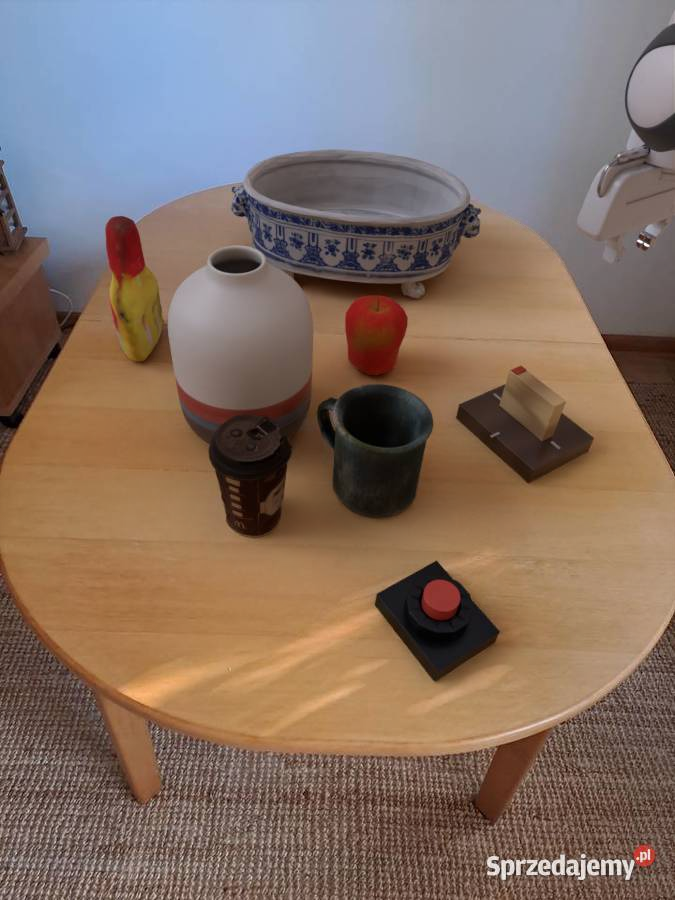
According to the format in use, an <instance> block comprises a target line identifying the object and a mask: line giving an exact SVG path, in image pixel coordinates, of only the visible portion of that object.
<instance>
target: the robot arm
mask: <svg viewBox="0 0 675 900" xmlns="http://www.w3.org/2000/svg"><path fill="white" fill-rule="evenodd" d="M670 17H671V18H670V19H669V22H668V25H667V26H666V27H664V28H663V29H662V30H661V31H660V32H659V33H658V34H657V35H656V36H655V37H654V38H653V40H651V41H650V43H648V45H647V46H646V47H645V48H644V50H643V51H642V53H641V54H640V55H639V57H638V58H637V60H636V62H635V64H634V65H633V66H632V69H631V71H630V73H629V76H628V79H627V82H626V86H625V91H624V93H625V94H624V108H625V111H626V116H627V118H628V121H629V123H630V126H631V132H630V134H629V136H628V140H627V142H626V150H623V151H619V152H617V153H615V155H613V159H612V160H610V161H609V162H608V163H607V164H605V165H603V167H601V169H599V171H598V172H597V174H596V175H595V177H594V179H593V181H592V183H591V185H590V187H589V190H588V191H587V193H586V196H585V198H584V200H583V204H582V206H581V209H580V212H579V214H578V217H577V220H576V225H577V229H578V231H579V232H580V233H582V234H583V235H585V236H586V237H588V238H590V239H592V240H594V241H596V242H605V243H604V244H605V248H604V250H603V253H602V259H603V260H604V261H605V262H607V263H609V264H615V263H617V262H619V261H621V260H623V256H624V255H625V252H626V250H627V248H626V247H624V246H623V240H624V239H626V238H627V237H628V233H629V232H632V231H635V230H638V229H640V228H644V227H646V228H645V229H644V231H641V232H639V234H638V237H637V238H638V239H637V240H636V243H635V244H636V245H635V246H636V247H637V248H638V249H641V250H642V251H644V252H645V251H649V250H651V249H654V248H656V246H657V243H658V240H659V238H660V237H661V236H662V234H664V232H665V230H666V229H667V228H668V227H669V225H670V224H672V222H673V219H674V217H675V9H674V11H673V12H672V15H671V16H670Z"/></svg>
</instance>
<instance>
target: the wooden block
mask: <svg viewBox="0 0 675 900" xmlns="http://www.w3.org/2000/svg"><path fill="white" fill-rule="evenodd" d="M566 403H567V400H565V399H564V398H563V397H562V396H560V395H559V394H558V393H556V391H554V390H553V389H552V388H550V387H549V386H547V385H546V383H544V382H542V381H541V380H540V379H538V378H537V377H536V376H535V375H533V373H531V372H529V371H528V369H527V368H526V367H524V366H523V365H518V366H516V367H514V368H512V369H509V370H508V374H507V377H506V380H505V387H504V391H503V394H502V398H501V401H500V404H499V406H501V407H502V408H503V409H504V410H505V411H506V412H508V413H509V414H510V415H511V416H512V417H514V418H515V419H516V420H517V421H518V422H520V423H521V424H522V425H523V426H524V427H525V428H527V429H528V430H529V431H530V432H531V433H533V434H534V435H535V436H536V437H537V438H539V439H540V440H541V441H544V440H546V439H548V438H550V437H552V436H553V434H554V432H555V429H556V427H557V424H558V421H559V419H560V416H561V414H562V413H563V411H564V408H565V406H566Z"/></svg>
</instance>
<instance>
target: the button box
mask: <svg viewBox="0 0 675 900" xmlns="http://www.w3.org/2000/svg"><path fill="white" fill-rule="evenodd" d="M434 580H445V581H448V582H450V583H452V584H453V585H454V586H455V587H456V588H457V589H458V591H459V593H460V603H459V606H458V609H457V612H456V614H455V615H454V616H453V617H452V618H450V619H448V620H444V621H439V620H435V619H432V618H431V617H429V616H428V615H427V614H426V613H425V612H424V610H423V608H422V605H421V601H422V596H423V592H424V589H425V587H426V585H427V584H428V583H430V582H432V581H434ZM374 606H375V607H376V609H377V610H378V611H379V612H380V614H381V615H382V616H383V618H384V619H385V621H386V622H387V623H388V624H389V625H390V627H391V628H392V629H393V631H394V632H395V633H396V634H397V636H398V637H399V638H400V640H401V641H402V643H404V645H405V646H406V647H407V649H408V650H409V652H410V653H411V654H412V655H413V656H414V658H415V659H416V660H417V662H418V663H419V664H420V665H421V667H422V668H423V669H424V671H425V672H426V673H427V675H428V676H429V677H430V678H431V679H432V681H433V682H434V683H435V682H437V681H439V680H440V679H441V678H443V677H444V676H446V675H448V674H449V673H451V672H452V671H454V670H455V669H457V668H458V667H460V666H461V665H463V664H464V663H466V662H467V661H469V660H471V659H472V658H474V657H475V656H477V655H478V654H479V653H482V652H483V651H485V650H486V649H487V648H489V647H490V646H492V645H493V644H495V643H496V642H497V640H498V637H499V635H500V632H501V631H500V630H499V628H498V627H497V626H496V625H495V624H494V623H493V621H491V620H490V619H489V617H488V616H487V615H486V614H485V613H484V611H482V610H481V609H480V607H479V606H478V605H477V604H476V603H475V602H474V600H473V599H472V595H471V593H470V592H468V590H467V589H466V588H465V587H464V586H463V584H462V583H461V582H460V581H458V580H455V579H454V578H453V576H451V575H450V574H449V572H448V571H447V570H446V569H445V568H444V567H443V566H442V565H441V563H440V562H439V561H438V560H434V561H433V562H430V563H429V564H427V565H426V566H424V567H422V568H420V569H418V570H417V571H415V572H413V573H411V574H409V575H408V576H406V577H404V578H402V579H400V580H398V581H397V582H395V583H393V584H392V585H390V586H388V587H386V588H385V589H383V590H381V591H379V592H377V593H376V594H375V601H374Z"/></svg>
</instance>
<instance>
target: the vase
mask: <svg viewBox="0 0 675 900" xmlns="http://www.w3.org/2000/svg"><path fill="white" fill-rule="evenodd" d="M167 313H168V315H167V334H168V335H167V336H168V343H169V348H170V354H171V355H170V356H171V360H172V366H173V374H174V377H175V384H176V390H177V395H178V400H179V406H180V408H181V411H182V412H181V413H182V415H183V417H184V419H185V421H186V422H187V424H188V426H189V427H190V429H191V430H192V432H194V434H195V435H196V436H197V437H199V439H201V440H202V441H203V442H205V443H207V444H208V445H210V442H211V439H212V438H213V436H214V435H215V433H216V430H217V429H218V428H219V426H220V425H221V424H222V423H224V422H225V421H226V420H228V419H229V418H231V417H233V416H235V415H244V414H246V415H253V416H267V417H268V418H269V419H273V420H275V421H276V422H277V427H279V428H280V431H281V434H283V435H284V436H287V437H288V440H289V439H291V438H292V437H293V436H294V435H295V434H296V433H297V432H298V431H299V430H300V428H301V427H302V426H303V423H304V422H305V420H306V418H307V416H308V413H309V410H310V408H311V407H310V406H311V400H312V391H313V389H312V388H313V362H314V360H313V359H314V357H313V356H314V322H313V321H314V320H313V314H312V309H311V306H310V302H309V301H308V298H307V295H306V294H305V291H304V290H303V289H302V288H301V286H300V284H299V283H298V282H297V281H296V280H295V279H293V278H291V277H290V276H289V275H288V274H286V273H285V272H283V271H282V270H281V269H280V268H278V267H276V266H273V265H271V264H269V263H268V262H267V261H266V257H265V256H264V254H263V253H262V252H260V251H259V250H257V249H255V248H254V247H253V246H248V245H240V244H239V245H237V244H236V245H228V246H224V247H220V248H217V249H216V250H214V251H212V252H211V253H210V254H209V255H208V257H207V260H206V264H205V265H204V266H202V267H200V268H198V269H197V270H195V271H193V273H191V274H190V275H188V276H187V277H186V278H185V279H184V280H183V281H182V282H181V284H179V286H178V287H177V289H176V291H175V292H174V294H173V296H172V299H171V302H170V305H169V309H168V312H167Z"/></svg>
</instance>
